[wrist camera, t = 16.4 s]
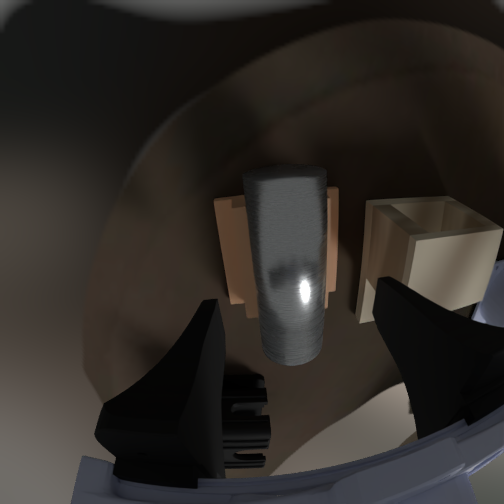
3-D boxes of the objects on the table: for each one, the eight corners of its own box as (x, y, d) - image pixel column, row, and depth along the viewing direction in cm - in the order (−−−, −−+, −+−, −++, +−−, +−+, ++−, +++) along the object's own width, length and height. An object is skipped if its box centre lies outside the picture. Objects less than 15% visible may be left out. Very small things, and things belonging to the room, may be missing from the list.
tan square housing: (448, 196, 16) (503, 228, 11) (427, 299, 20) (463, 344, 15) (365, 200, 16) (416, 240, 11) (355, 315, 20) (383, 371, 15)
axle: (235, 170, 13) (252, 187, 10) (306, 161, 14) (342, 176, 10) (256, 330, 18) (271, 372, 15) (308, 317, 18) (331, 354, 15)
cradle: (335, 186, 16) (348, 196, 14) (333, 286, 19) (342, 305, 17) (214, 198, 16) (211, 210, 14) (231, 299, 19) (230, 320, 17)
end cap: (181, 369, 22) (172, 437, 16) (264, 370, 23) (272, 438, 17) (195, 422, 27) (191, 475, 21) (259, 422, 27) (263, 475, 21)
